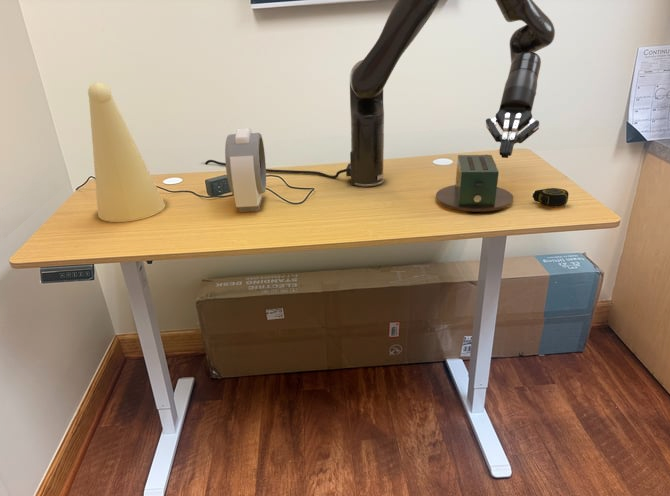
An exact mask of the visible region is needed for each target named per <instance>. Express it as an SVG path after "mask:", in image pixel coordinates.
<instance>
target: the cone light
mask: <svg viewBox="0 0 670 496" xmlns="http://www.w3.org/2000/svg"><path fill="white" fill-rule="evenodd" d="M87 95H88V103H89V114H90V115H89V116H90V128H91V129H90V130H91V141H92V142H91V144H92V152H93V153H92V156H93V167H94V180H95V191H96V192H95V193H96V194H95V195H96V205H97V217H98V218H99V219H100V220H102V221H104V222H111V223H126V222H133V221H138V220H139V221H140V220H143V219H147V218H149V217H152V216H155V215H157V214H159V213H160V212H162V211H163V210H164V209H165V207H166V203H165V201H164V200H163V199H164V198H163V197H162V195H161V193H160V191H159V190H158V189H159V188H158V187H157V185H156V183H155V181H154V179H153V177H152V175H151V173H150V170H149V169H148V167H147V164H146V163H145V161H144V159H143V156H142V155H141V152H140V150H139V148H138V146H137V144H136V142H135V140H134V138H133V136H132V134H131V132H130V130H129V128H128V126H127V124H126V122H125V120H124V118H123V115H122V114H121V112H120V110H119V107H118V105H117V103H116V101H115V99H114V97H113V95H112V91H111V89H110V88H109V86H108V85H107V84H105V83H104V82H101V81H100V82H97V81H96V82H93V83H92V84H91V85H89V87H88V90H87Z"/></svg>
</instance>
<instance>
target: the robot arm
mask: <svg viewBox="0 0 670 496" xmlns="http://www.w3.org/2000/svg"><path fill="white" fill-rule="evenodd" d="M441 1H442V0H396V1H395V3H394V4H393V7H392V8H391V10H390V12H389V15H388V17H387V18H386V21H385V23H384V26H383V28H382V31H381V33H380V35H379V37H378V39H377V40H376V42H375V43H374V45H372V48H370V50H369V52H368V53H367V55H366V56H365V57H364V59H361V60H358V62H356V63H355V64H354V65H353V66H352V68H351V70H350V72H349V73H350V74H349V105H350V106H349V111H350V113H349V114H350V142H351V143H350V147H351V149H350V153H349V157H350V158H349V161H350V163H348V164H347V166H346V168H344V169H340V170H338V171H336V173H335V174H334V175H329V174H326V173H324V172H321V171H315V170H293V169H271V168H270V169H269V168H266V173H282V174H305V175H306V174H307V175H319V176H323V177H325V178H329V179H338V177H339V175H341V174H343V173H346V175H345V176H346V177H350V185H351V186H356V187H362V188H363V187H364V188H365V187H367V188H371V187H376V186H380V185H382V184H383V183H384V181H385V180H384V161H385V160H384V156H385V153H384V151H385V149H384V147H385V106H384V88H385V86H386V85H387V83H388V80H389V78H390V76H391V74H392V73H393V71H394V69H395V67H396V65H397V63H399V61H400V59H401V57H402V56H403V54H404V53H405V52H406V50H407V49H408V48H409V47H410V45H411V44H412V43H413V41H414V40H415V39H416V37H418V35H419V34H420V32H421V31H422V30H423V28H424V26H425V25H426V24H427V23H428V21H429V20H430V18H431V17H432V15H433V13H434V12H435V10H436V9H437V7H438V6H439V4H440V2H441ZM494 1H495V3H496V5H497V7H498V9H499V10H500V13H501V15H502V16H503V19H504V20H505V22H508V23H514V22H518V21H522V22H523V23H524V24H525V25H523V26H521V27H519V28H517V29H515V31H514V32H513V33H512V35H511V37H510V39H509V43H508V44H509V54H510V55H509V56H510V67H509V71H508V75H507V79H506V81H505V84H504V88H503V92H502V97H501V100H500V105H499V109H498V111H497V112H496V114H495V116H494V117H492V118H486V119H485V128H486V129H487V130H488V132H489V133H490V135H491V136H492V138H493V140H494V141H495V142H496V143H500V146H499V150H498V152H499V156H501V158H503V159H508V158H509V157H511V156H512V154H513V150H514V146H515V145H516V144H522V143H524V142H525V141H526V140H527V139H529V138H530V137H531V136H532V135H534V134H535V133H536V132H537V131H539V129H540V121H539V120H538V119H537V120H535V119H534V118H533V113H532V111H533V107H534V102H535V97H536V95H537V89H538V88H537V87H538V79H539V74H540V70H541V65H542V59H541V56H540V55H539V54H537V53H536V52H538V51H540V50H542V49H544V48H546V47H548V46H550V45H551V44H552V43H553V41H554V40H555V36H556V30H555V26H554V23H553V22H552V20H551V19H550V18H549V16H548V15H547V14H545V12H544V11H543V10H542V9H541V8H540V7H539V6H538V5H537V4H536V2H535V1H534V0H494ZM497 125H498V127H499V128H500V130H502V134H501V133H500V131H499V130H498V128H497ZM520 131H521V132H520ZM210 163H214V164H216V165H219V166H225V167H226V162H221V161H217V160H214V159H207V160H206V161H205V162H204V165H208V164H210Z"/></svg>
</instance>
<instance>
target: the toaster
mask: <svg viewBox="0 0 670 496" xmlns="http://www.w3.org/2000/svg"><path fill="white" fill-rule="evenodd" d="M456 160H457V162H456V176H455V184H454V185H448V186H446V187H442V188H441V189H439V190H437V191H436V193H435V200H436V202H437V203H438V204H440V205H442V206H443V207H446V208H448V209H452V210H457V211H462V212H463V211H464V212H479V213H480V212H481V213H482V212H492V211H493V212H494V211H498V210H503V209H505V208H508V207H510V206H511V205H512V204H513V202H514V199H515V198H514V197H515V196H514V195H513V194H512V192H510V191H509V190H507V189H505V188H502V187H499V186H498V183H499V170H498V167H497V165H496V163H495V160H494V157H493V155H492V154H457V159H456Z"/></svg>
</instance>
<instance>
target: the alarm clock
mask: <svg viewBox="0 0 670 496" xmlns="http://www.w3.org/2000/svg"><path fill="white" fill-rule="evenodd" d="M224 147H225V148H224V156H225V158H224V159H225V163H226V166H225V172H226V179H227V183H228V187H229V190H230V193H231V194H232V195H233V196H234V202H235V207H236V208H238V210H239V211H238V212H239V213H249V212H260V209H261V206H262V202H263V198H264V197H263V195H264V193H266V188H267V172H266V169H267V167H266V164H267V163H266V155H265V154H266V153H265V146H264V140H263V135H262V134H261V133H260V132H253V131H252V129H251V128H250V127H245V128H238V129H236V131H235V133H233V134H232V133H231V134H228V135H227V136H226V140H225V146H224Z"/></svg>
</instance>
